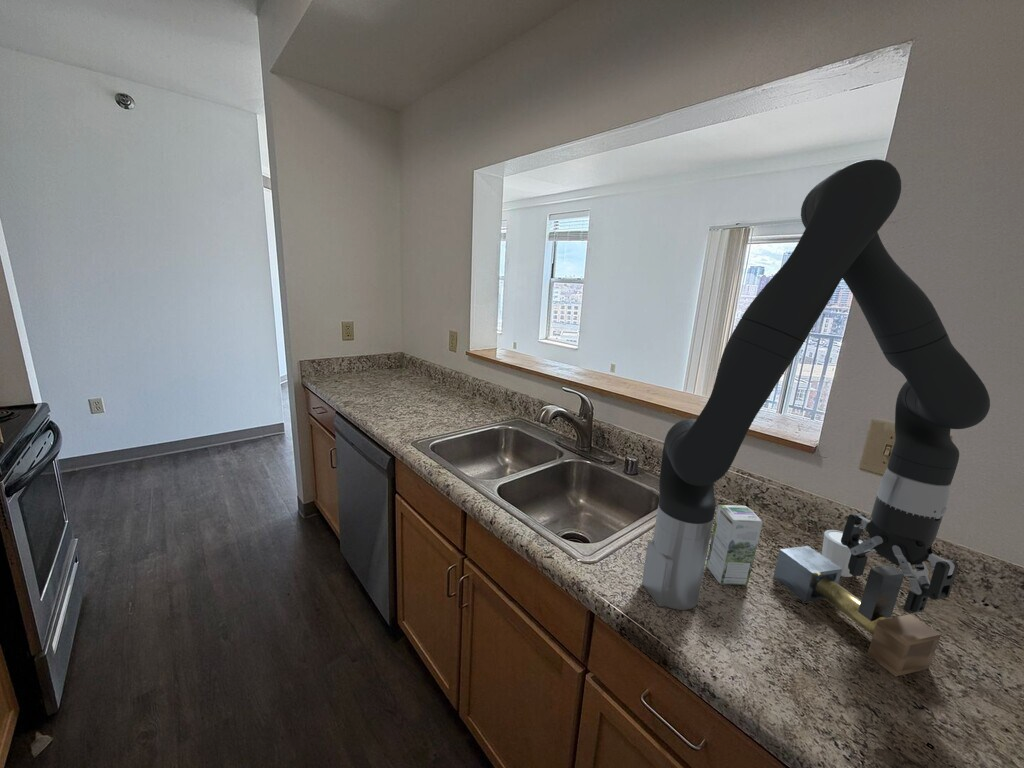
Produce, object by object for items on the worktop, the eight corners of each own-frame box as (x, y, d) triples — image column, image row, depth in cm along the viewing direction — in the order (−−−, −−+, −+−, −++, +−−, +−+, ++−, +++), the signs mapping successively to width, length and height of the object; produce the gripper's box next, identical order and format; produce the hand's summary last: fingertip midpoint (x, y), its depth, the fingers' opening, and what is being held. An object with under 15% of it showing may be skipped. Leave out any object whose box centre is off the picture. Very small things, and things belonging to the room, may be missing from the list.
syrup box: (732, 566, 85) (745, 503, 82) (749, 586, 79) (763, 520, 76) (705, 565, 85) (717, 502, 81) (720, 586, 79) (733, 519, 76)
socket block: (867, 653, 66) (877, 620, 64) (899, 646, 67) (910, 614, 66) (895, 676, 62) (907, 641, 60) (928, 668, 64) (940, 634, 62)
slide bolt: (811, 595, 76) (826, 540, 73) (830, 592, 77) (845, 538, 74) (889, 655, 64) (909, 592, 61) (909, 651, 65) (931, 588, 62)
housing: (773, 577, 83) (779, 549, 81) (801, 572, 84) (807, 545, 83) (804, 602, 76) (812, 573, 74) (834, 597, 78) (842, 568, 76)
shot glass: (814, 566, 86) (821, 537, 85) (820, 553, 91) (827, 525, 90) (855, 584, 82) (864, 553, 80) (859, 569, 87) (868, 539, 85)
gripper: (844, 481, 69) (821, 565, 73) (949, 531, 55) (915, 631, 59) (877, 479, 70) (854, 561, 74) (988, 526, 57) (952, 623, 61)
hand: (881, 592), depth 67 cm, fingers open, 8 cm apart
